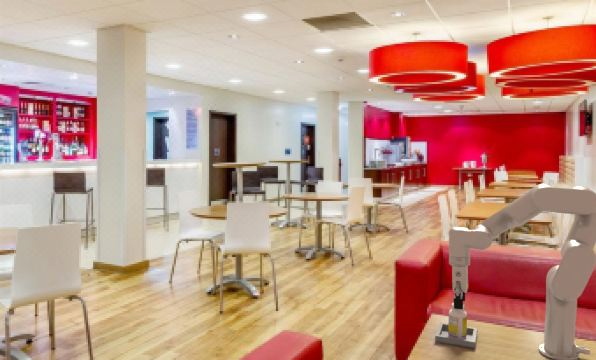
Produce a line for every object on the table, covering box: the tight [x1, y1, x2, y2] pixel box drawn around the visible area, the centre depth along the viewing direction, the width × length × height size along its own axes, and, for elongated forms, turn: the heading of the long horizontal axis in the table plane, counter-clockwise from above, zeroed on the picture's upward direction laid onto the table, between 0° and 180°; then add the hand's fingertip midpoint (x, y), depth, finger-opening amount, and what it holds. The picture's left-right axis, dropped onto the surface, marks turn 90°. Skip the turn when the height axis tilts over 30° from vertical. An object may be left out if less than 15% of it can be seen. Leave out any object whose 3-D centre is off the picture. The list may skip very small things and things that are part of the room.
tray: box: [434, 322, 478, 350], centre depth 184 cm, size 14×14×2 cm
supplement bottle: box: [447, 302, 468, 339], centre depth 183 cm, size 7×7×13 cm
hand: (459, 304), depth 182 cm, fingers open, 9 cm apart
